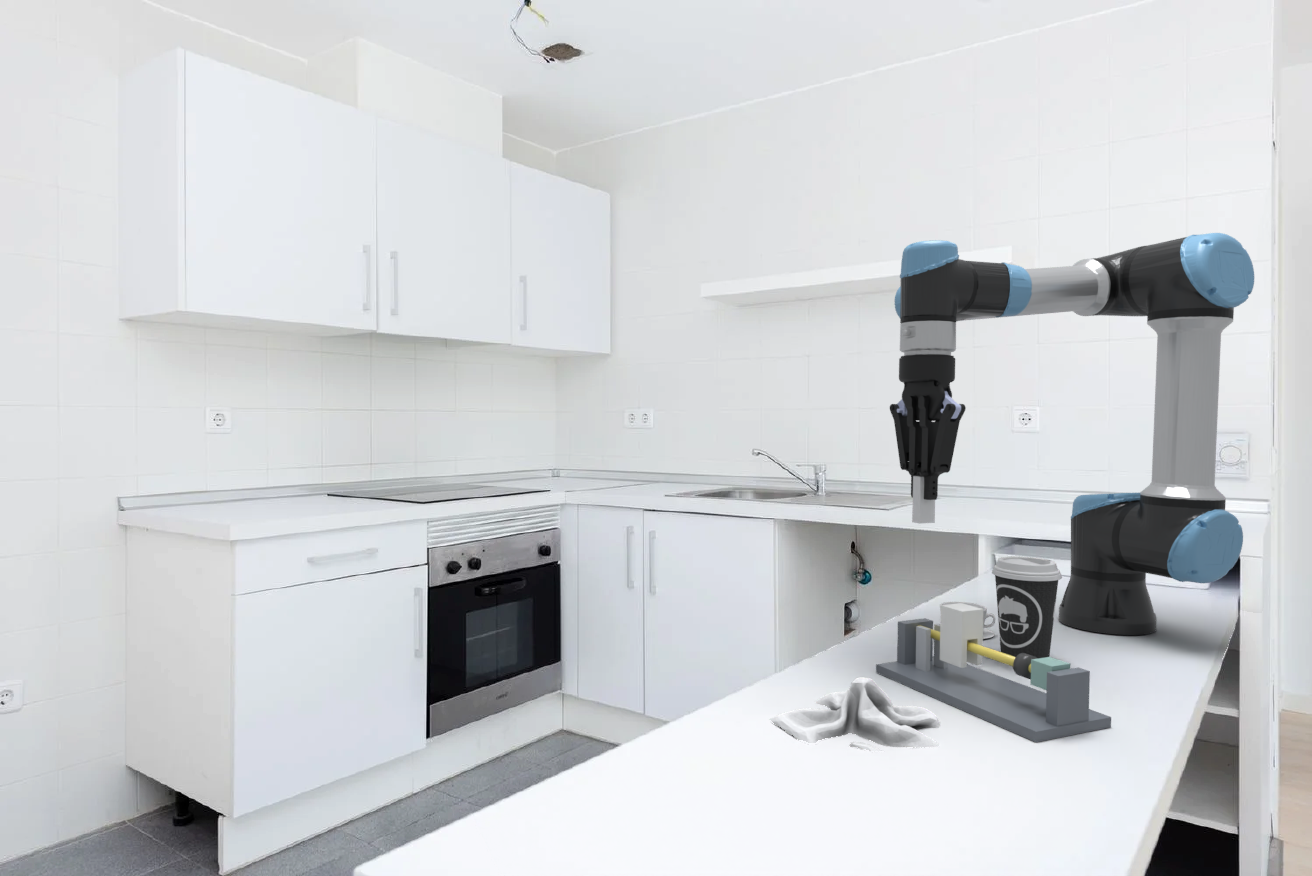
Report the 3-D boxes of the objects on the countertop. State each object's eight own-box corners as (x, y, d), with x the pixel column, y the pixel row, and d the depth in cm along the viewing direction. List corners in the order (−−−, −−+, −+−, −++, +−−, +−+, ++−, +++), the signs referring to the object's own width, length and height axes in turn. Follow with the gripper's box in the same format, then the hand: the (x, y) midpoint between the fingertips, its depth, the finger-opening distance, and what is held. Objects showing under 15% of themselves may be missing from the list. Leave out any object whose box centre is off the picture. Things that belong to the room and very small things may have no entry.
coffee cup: (1067, 673, 123) (1070, 567, 123) (996, 668, 125) (998, 565, 125) (1051, 654, 132) (1053, 556, 132) (985, 650, 134) (986, 554, 134)
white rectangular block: (939, 659, 117) (940, 605, 117) (960, 656, 118) (961, 603, 118) (961, 668, 113) (962, 611, 113) (982, 664, 115) (983, 609, 114)
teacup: (929, 638, 142) (929, 610, 142) (934, 624, 152) (934, 598, 152) (994, 645, 139) (995, 615, 139) (995, 630, 148) (995, 603, 148)
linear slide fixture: (876, 672, 123) (877, 619, 122) (942, 663, 127) (943, 612, 127) (1035, 742, 97) (1037, 676, 97) (1111, 727, 102) (1112, 663, 102)
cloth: (750, 738, 100) (750, 685, 99) (812, 693, 115) (812, 647, 115) (949, 783, 88) (950, 723, 87) (988, 727, 103) (989, 676, 103)
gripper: (875, 355, 126) (872, 518, 126) (938, 350, 114) (934, 529, 115) (916, 357, 129) (913, 516, 130) (982, 352, 117) (978, 527, 118)
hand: (923, 522), depth 122 cm, fingers closed
